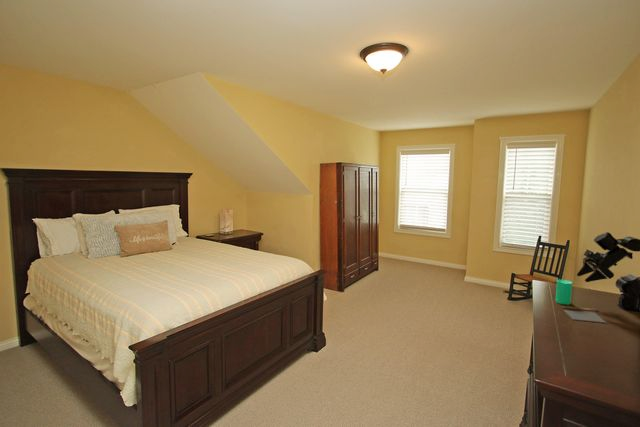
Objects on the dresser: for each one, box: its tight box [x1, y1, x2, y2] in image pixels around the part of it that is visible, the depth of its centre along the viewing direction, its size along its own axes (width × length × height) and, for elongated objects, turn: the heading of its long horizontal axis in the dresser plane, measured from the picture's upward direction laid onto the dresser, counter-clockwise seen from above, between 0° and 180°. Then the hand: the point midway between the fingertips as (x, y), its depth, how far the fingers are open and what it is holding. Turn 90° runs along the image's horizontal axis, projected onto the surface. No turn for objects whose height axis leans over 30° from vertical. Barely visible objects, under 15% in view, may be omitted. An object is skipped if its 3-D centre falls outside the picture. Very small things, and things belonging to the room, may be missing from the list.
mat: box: [562, 309, 607, 324], centre depth 146 cm, size 12×10×1 cm
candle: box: [554, 278, 573, 305], centre depth 162 cm, size 6×6×12 cm
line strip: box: [561, 305, 599, 312], centre depth 154 cm, size 14×2×1 cm, turn 73°
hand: (581, 278), depth 159 cm, fingers open, 9 cm apart
